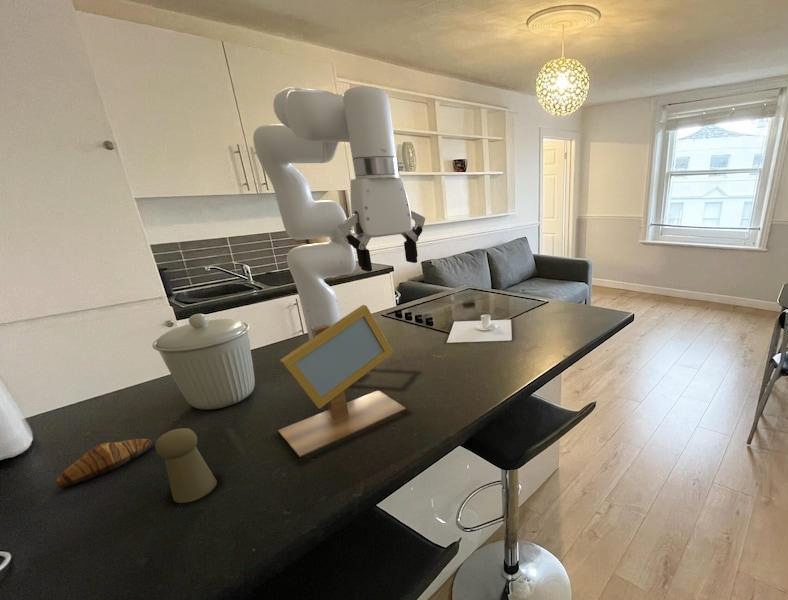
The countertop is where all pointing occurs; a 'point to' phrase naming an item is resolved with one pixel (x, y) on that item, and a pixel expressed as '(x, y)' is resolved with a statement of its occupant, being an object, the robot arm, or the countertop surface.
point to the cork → (185, 465)
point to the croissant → (102, 460)
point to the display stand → (338, 418)
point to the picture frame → (338, 356)
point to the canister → (209, 361)
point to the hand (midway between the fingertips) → (390, 266)
